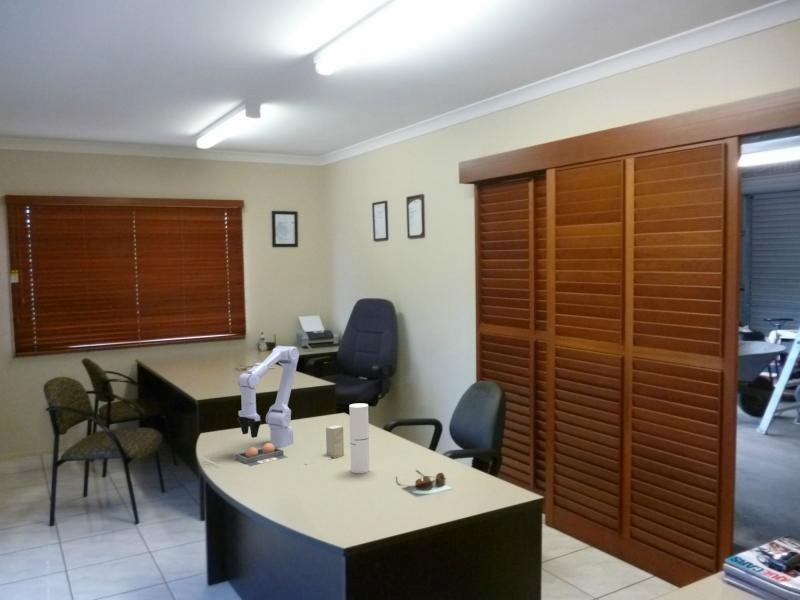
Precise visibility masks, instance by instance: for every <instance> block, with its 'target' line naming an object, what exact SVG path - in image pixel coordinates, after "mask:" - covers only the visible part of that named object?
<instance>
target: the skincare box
mask: <svg viewBox="0 0 800 600" xmlns="http://www.w3.org/2000/svg"><path fill="white" fill-rule="evenodd" d="M325 435H326V437H325V438H326V441H325V442H326V455H327V456H330V457H331V459H337V458H339V456H340V457H342V455H343V456H344V455H345V446H344V445H345V442H344V440H345V439H344V426H343V425H337V424H335V425H331V426H328V427H326V428H325ZM336 457H337V458H336Z"/></svg>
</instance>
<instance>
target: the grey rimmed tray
mask: <svg viewBox="0 0 800 600" xmlns="http://www.w3.org/2000/svg"><path fill="white" fill-rule="evenodd" d="M256 449H257V450H258V455H257V456H255V457H250V458H247V457H246V455H245V452H246V451H244V452H240V453H239V452H238V453H236V454H235V460H236V461H238V462H241V463H243V464H245V465H247V466H249V467H253V466H258V465H263V464H265V463H270V462H274V461H278V460H283V459H285V458H288V456H287V455H284V454H285V453H284V450H282V449H281V448H279V447H275V451H274V452H272V453H268V454H264V453H263V451H262V448H256Z"/></svg>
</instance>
